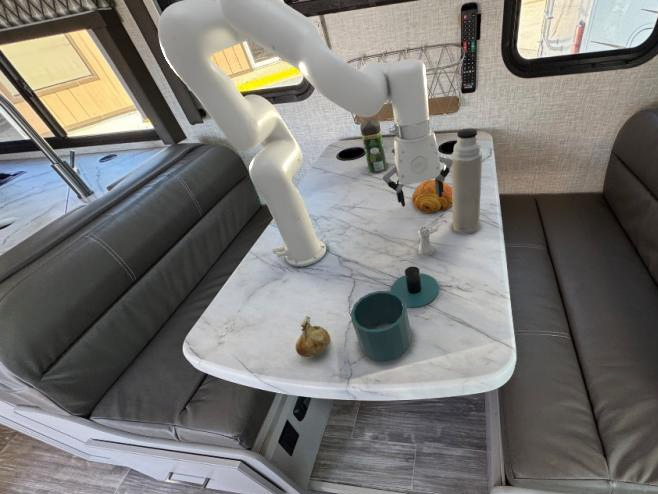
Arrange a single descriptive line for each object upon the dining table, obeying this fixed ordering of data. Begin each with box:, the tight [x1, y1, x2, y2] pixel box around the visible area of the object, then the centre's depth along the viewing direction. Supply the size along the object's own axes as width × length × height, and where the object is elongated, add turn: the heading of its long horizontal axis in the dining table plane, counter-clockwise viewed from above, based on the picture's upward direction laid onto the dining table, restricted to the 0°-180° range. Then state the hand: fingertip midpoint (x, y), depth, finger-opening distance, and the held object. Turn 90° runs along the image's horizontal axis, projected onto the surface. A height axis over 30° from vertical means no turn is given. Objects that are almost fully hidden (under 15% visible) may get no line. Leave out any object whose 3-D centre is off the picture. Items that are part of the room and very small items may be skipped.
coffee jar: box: [359, 118, 387, 173], centre depth 135 cm, size 10×8×19 cm
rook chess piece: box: [417, 225, 434, 256], centre depth 94 cm, size 4×4×8 cm
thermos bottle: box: [450, 127, 483, 234], centre depth 94 cm, size 8×8×28 cm
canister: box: [350, 290, 412, 363], centre depth 72 cm, size 11×11×10 cm
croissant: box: [411, 179, 453, 214], centre depth 114 cm, size 14×16×8 cm
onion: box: [295, 315, 331, 358], centre depth 74 cm, size 8×8×8 cm
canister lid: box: [390, 266, 440, 309], centre depth 83 cm, size 12×12×7 cm
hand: (420, 199), depth 85 cm, fingers open, 9 cm apart
